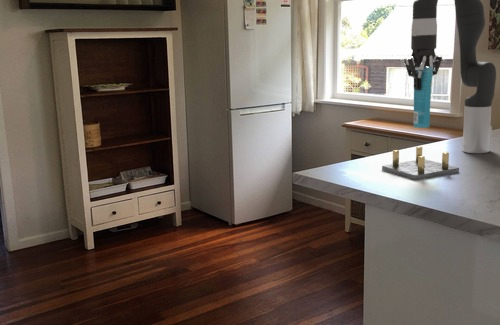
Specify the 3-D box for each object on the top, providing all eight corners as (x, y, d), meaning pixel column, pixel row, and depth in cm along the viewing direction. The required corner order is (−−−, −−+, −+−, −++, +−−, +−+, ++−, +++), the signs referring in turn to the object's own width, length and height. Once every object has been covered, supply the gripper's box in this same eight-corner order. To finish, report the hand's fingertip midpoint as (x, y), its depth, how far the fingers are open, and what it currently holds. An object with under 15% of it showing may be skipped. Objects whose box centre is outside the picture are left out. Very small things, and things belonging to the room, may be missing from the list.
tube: (435, 127, 172) (437, 66, 168) (427, 129, 169) (429, 67, 165) (415, 125, 178) (417, 66, 174) (406, 127, 175) (408, 67, 171)
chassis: (423, 163, 187) (424, 144, 186) (458, 172, 173) (459, 152, 172) (382, 170, 180) (382, 151, 179) (415, 180, 166) (416, 159, 164)
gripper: (432, 33, 173) (430, 87, 177) (397, 35, 167) (396, 90, 171) (450, 32, 167) (448, 88, 170) (414, 34, 161) (413, 92, 165)
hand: (422, 89), depth 171 cm, fingers closed on tube, 3 cm apart
